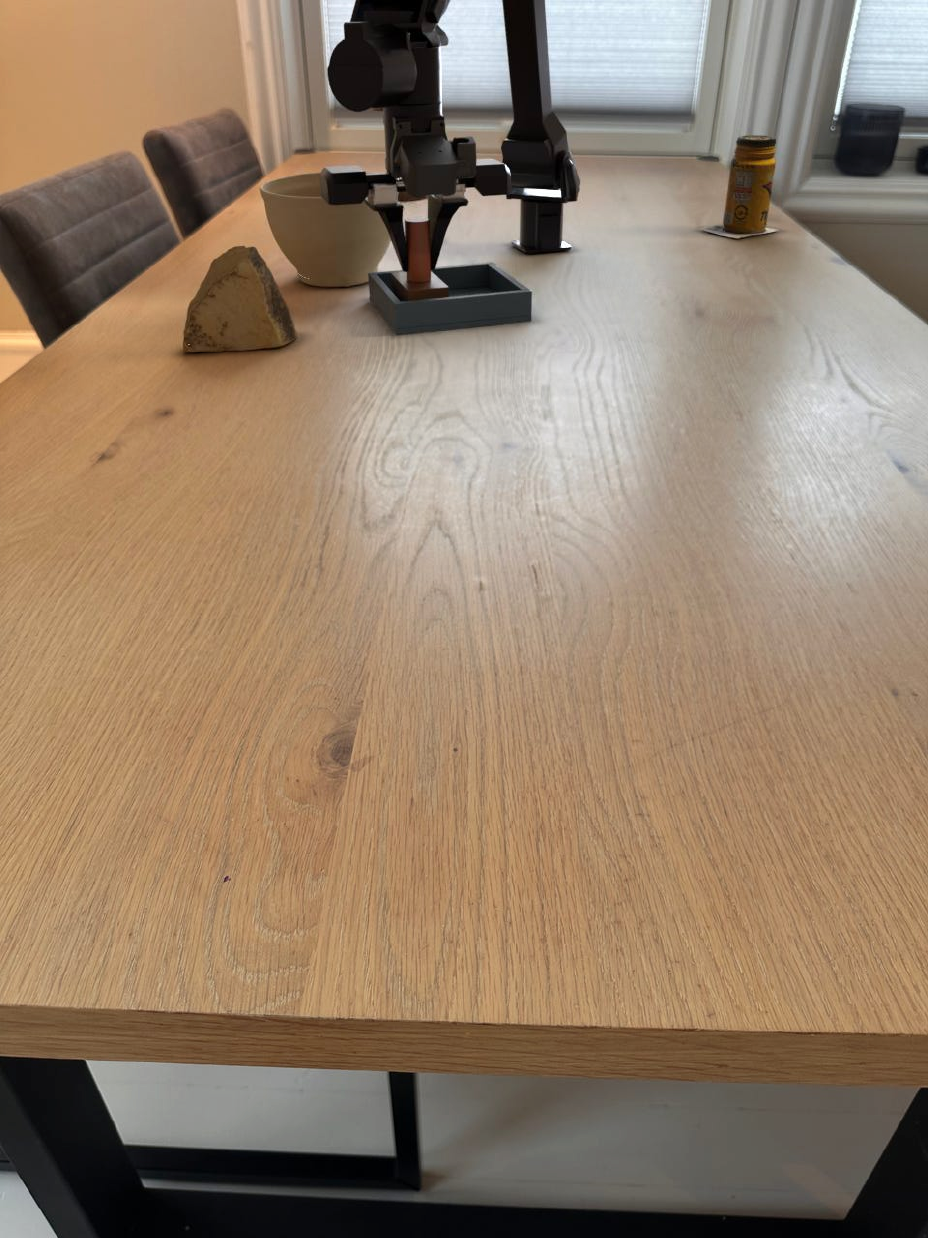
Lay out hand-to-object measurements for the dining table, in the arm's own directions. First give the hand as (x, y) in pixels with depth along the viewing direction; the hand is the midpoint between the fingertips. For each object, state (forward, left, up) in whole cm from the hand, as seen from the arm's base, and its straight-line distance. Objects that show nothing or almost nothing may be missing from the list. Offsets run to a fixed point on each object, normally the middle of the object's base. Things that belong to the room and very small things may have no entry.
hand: (418, 269), depth 100 cm
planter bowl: (-18, -6, -5) cm, 20 cm away
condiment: (-25, +53, -5) cm, 59 cm away
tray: (0, +3, -5) cm, 6 cm away
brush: (0, 0, -4) cm, 4 cm away
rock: (+5, -20, -5) cm, 21 cm away
